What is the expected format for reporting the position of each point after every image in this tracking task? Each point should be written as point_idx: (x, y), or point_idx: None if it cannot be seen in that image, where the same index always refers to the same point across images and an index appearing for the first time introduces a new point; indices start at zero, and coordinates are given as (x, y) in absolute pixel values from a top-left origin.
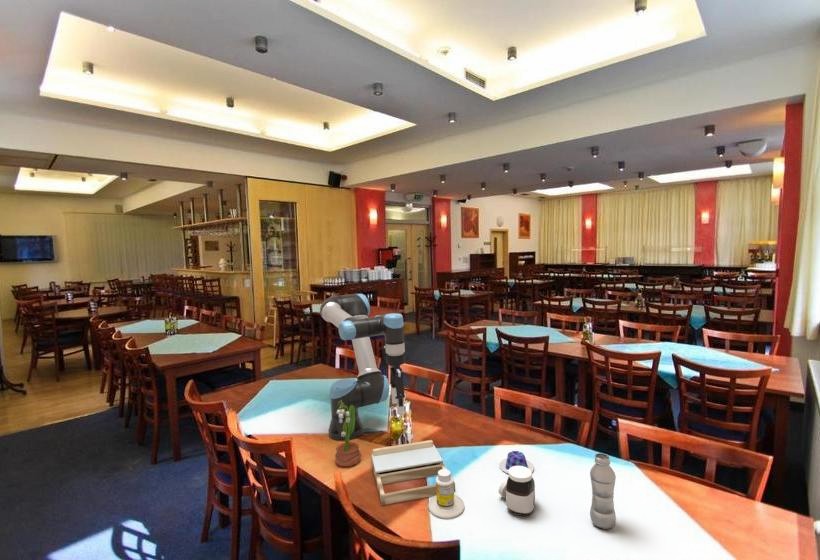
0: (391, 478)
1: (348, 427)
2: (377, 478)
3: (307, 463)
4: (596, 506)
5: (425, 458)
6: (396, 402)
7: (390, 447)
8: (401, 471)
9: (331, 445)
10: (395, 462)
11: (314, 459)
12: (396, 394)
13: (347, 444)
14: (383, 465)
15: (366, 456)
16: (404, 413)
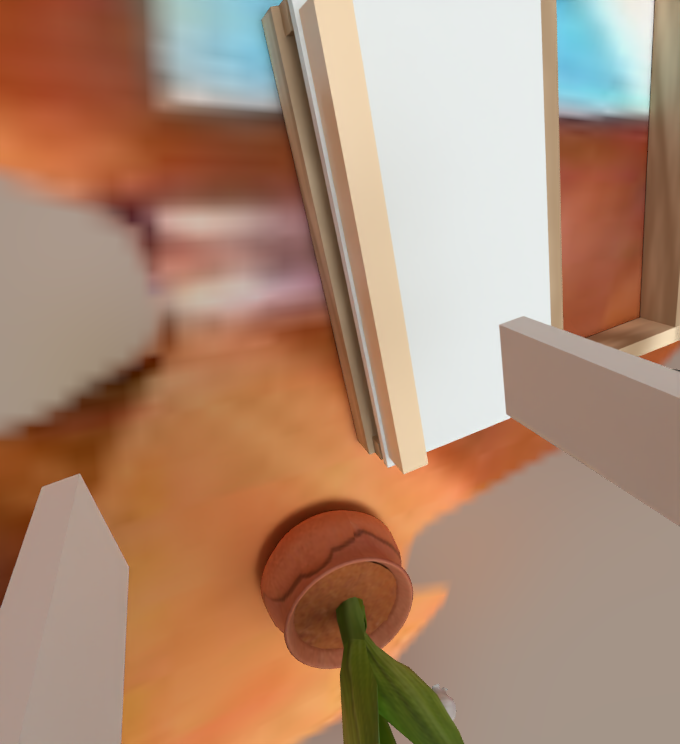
0: None
1: (348, 727)
2: None
3: (325, 707)
4: None
5: (490, 100)
6: (95, 522)
7: (400, 367)
8: (549, 265)
9: (143, 705)
10: (497, 309)
11: (293, 700)
12: (76, 646)
13: (362, 629)
14: None
15: (276, 488)
16: (524, 317)
